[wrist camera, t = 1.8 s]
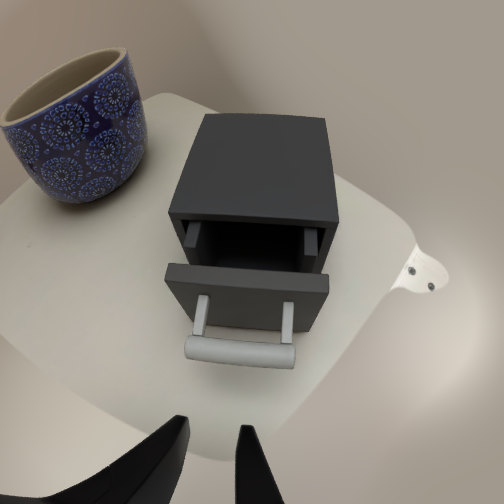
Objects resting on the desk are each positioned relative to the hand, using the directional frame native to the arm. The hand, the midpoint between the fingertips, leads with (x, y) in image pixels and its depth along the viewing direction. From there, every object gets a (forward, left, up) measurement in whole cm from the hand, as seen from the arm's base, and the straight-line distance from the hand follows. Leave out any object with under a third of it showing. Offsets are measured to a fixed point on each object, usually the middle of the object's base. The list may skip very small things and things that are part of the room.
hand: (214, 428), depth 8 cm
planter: (+26, +22, -13) cm, 36 cm away
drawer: (+10, 0, -12) cm, 16 cm away
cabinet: (+17, 0, -13) cm, 21 cm away
